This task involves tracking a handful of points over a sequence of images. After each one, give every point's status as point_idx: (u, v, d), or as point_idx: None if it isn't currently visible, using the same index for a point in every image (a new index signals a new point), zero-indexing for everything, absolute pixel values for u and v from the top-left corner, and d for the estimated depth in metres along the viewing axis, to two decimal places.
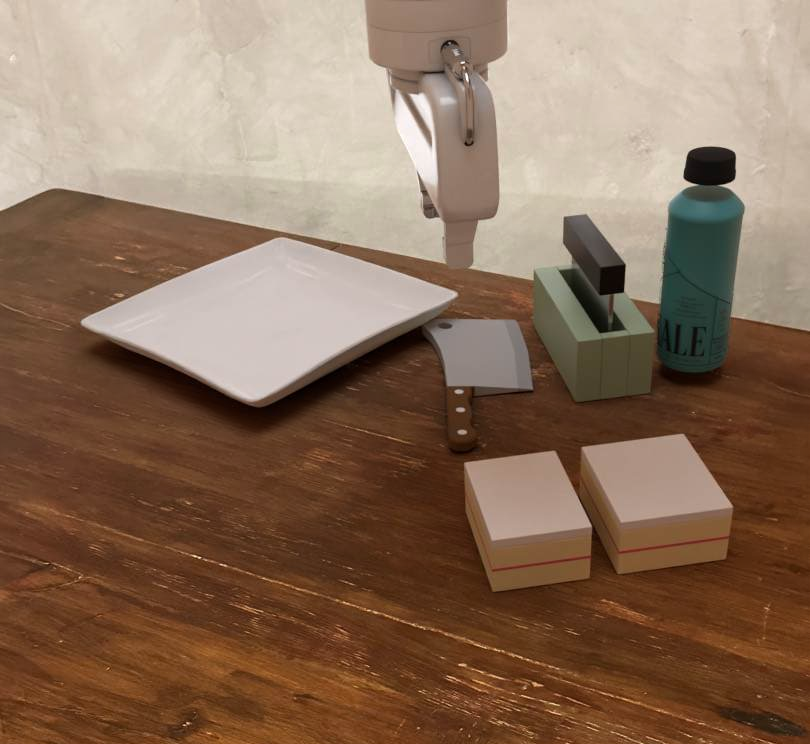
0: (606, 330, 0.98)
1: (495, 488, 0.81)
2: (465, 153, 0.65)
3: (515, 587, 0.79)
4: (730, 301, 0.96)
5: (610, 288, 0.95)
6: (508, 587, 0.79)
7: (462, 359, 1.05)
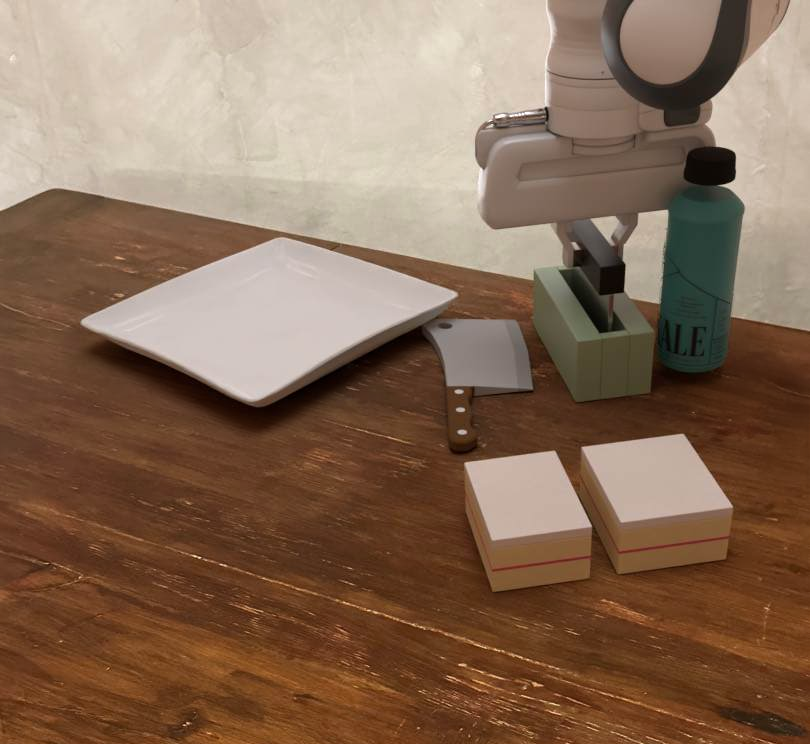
0: (605, 330, 0.98)
1: (495, 488, 0.81)
2: (482, 174, 0.94)
3: (515, 587, 0.79)
4: (730, 301, 0.96)
5: (610, 288, 0.95)
6: (508, 587, 0.79)
7: (462, 359, 1.05)
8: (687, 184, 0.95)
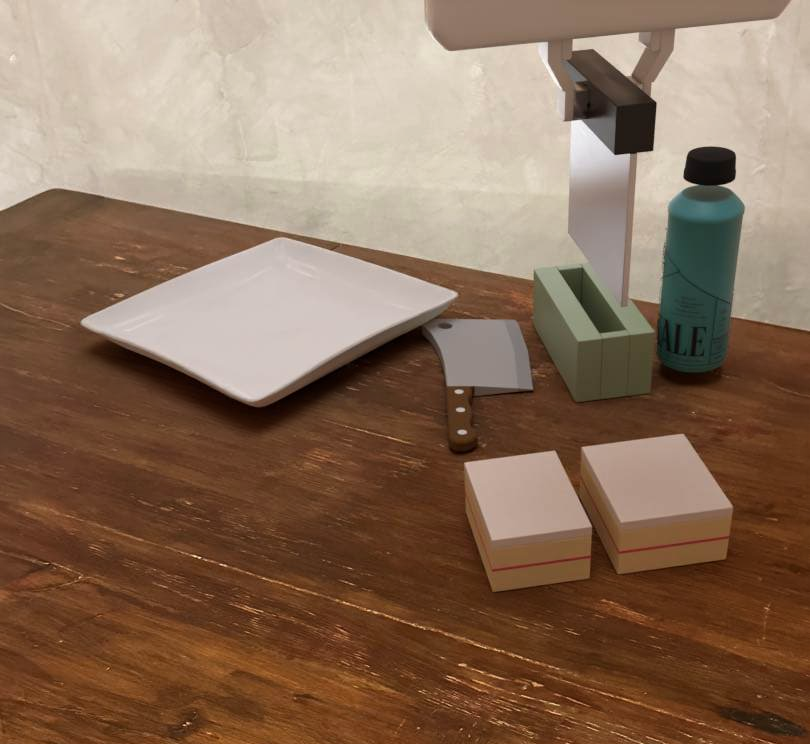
0: (623, 214, 0.63)
1: (495, 488, 0.81)
2: None
3: (515, 587, 0.79)
4: (730, 301, 0.96)
5: (632, 143, 0.61)
6: (508, 587, 0.79)
7: (462, 359, 1.05)
8: None
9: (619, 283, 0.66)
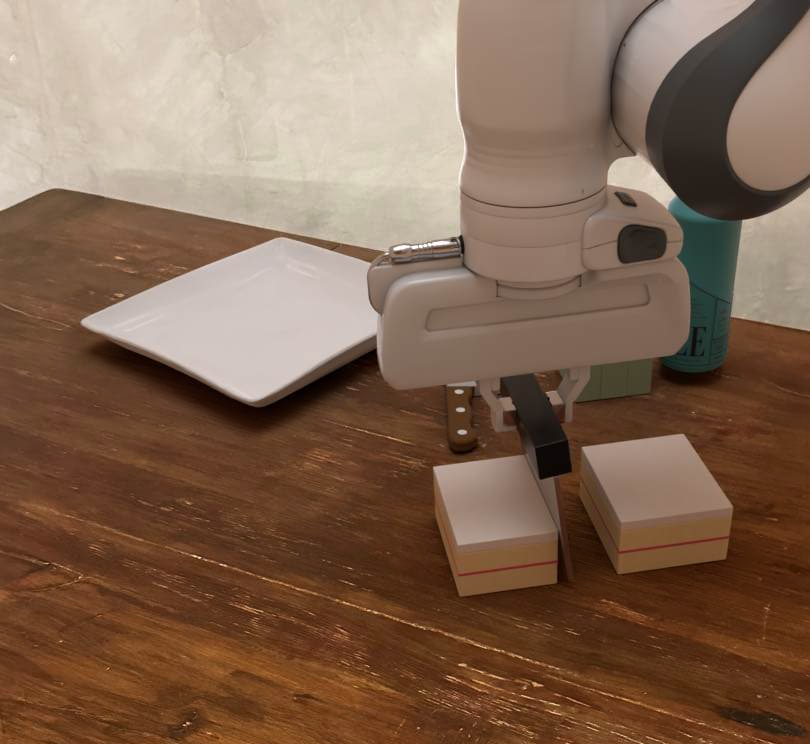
0: (557, 516, 0.75)
1: (463, 492, 0.81)
2: (379, 319, 0.71)
3: (482, 592, 0.79)
4: (730, 301, 0.96)
5: (552, 469, 0.72)
6: (475, 592, 0.79)
7: None
8: (651, 331, 0.72)
9: (564, 563, 0.78)
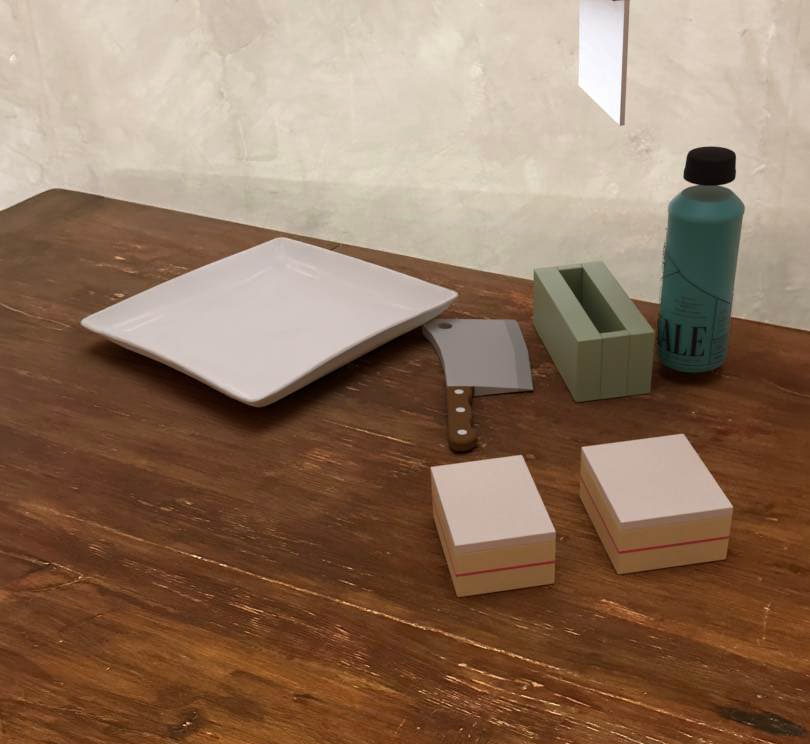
0: (620, 50, 0.84)
1: (460, 493, 0.81)
2: None
3: (479, 592, 0.79)
4: (730, 301, 0.96)
5: None
6: (472, 592, 0.79)
7: (462, 359, 1.05)
8: None
9: (618, 107, 0.87)
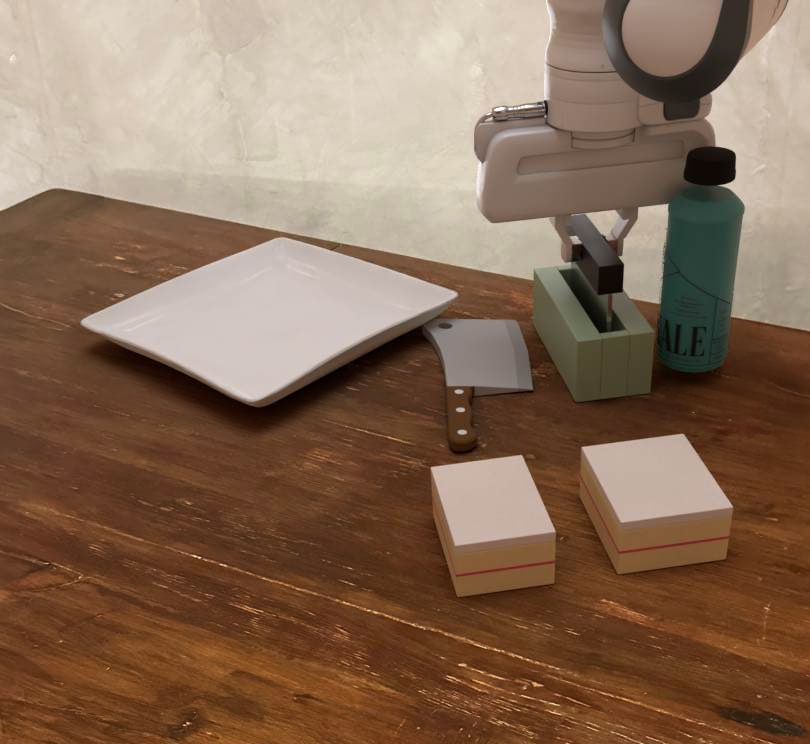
0: (604, 330, 0.98)
1: (460, 493, 0.81)
2: (481, 167, 0.94)
3: (479, 592, 0.79)
4: (730, 301, 0.96)
5: (608, 288, 0.95)
6: (472, 592, 0.79)
7: (462, 359, 1.05)
8: None
9: None
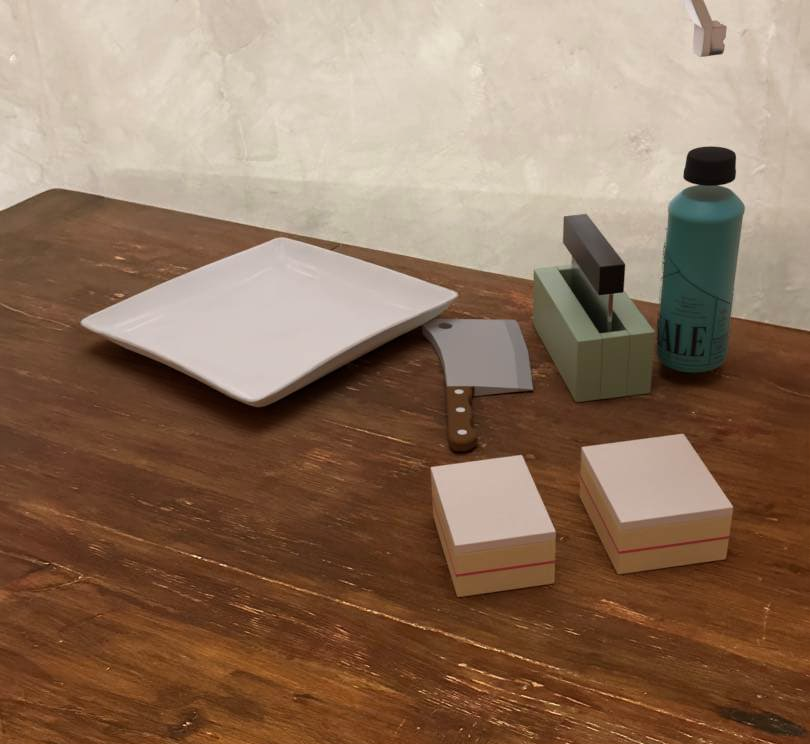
0: (605, 330, 0.98)
1: (460, 493, 0.81)
2: None
3: (479, 592, 0.79)
4: (730, 301, 0.96)
5: (609, 288, 0.95)
6: (472, 592, 0.79)
7: (462, 359, 1.05)
8: None
9: None
